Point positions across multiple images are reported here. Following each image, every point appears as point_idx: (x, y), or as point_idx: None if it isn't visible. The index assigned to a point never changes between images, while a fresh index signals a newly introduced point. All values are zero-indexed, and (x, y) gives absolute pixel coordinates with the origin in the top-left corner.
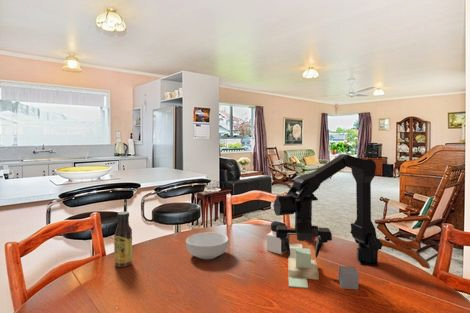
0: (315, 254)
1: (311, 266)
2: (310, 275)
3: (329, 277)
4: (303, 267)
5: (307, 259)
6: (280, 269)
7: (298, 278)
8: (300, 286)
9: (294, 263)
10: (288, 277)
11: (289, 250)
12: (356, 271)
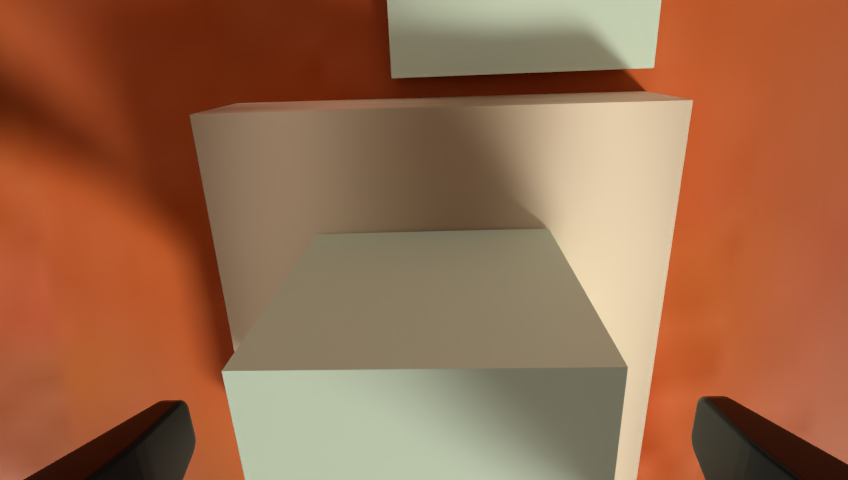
0: (177, 474)
1: None
2: (332, 105)
3: (109, 187)
4: (429, 233)
5: (343, 298)
6: (725, 287)
7: (509, 35)
8: None
9: None
10: (649, 64)
11: (809, 478)
12: None
